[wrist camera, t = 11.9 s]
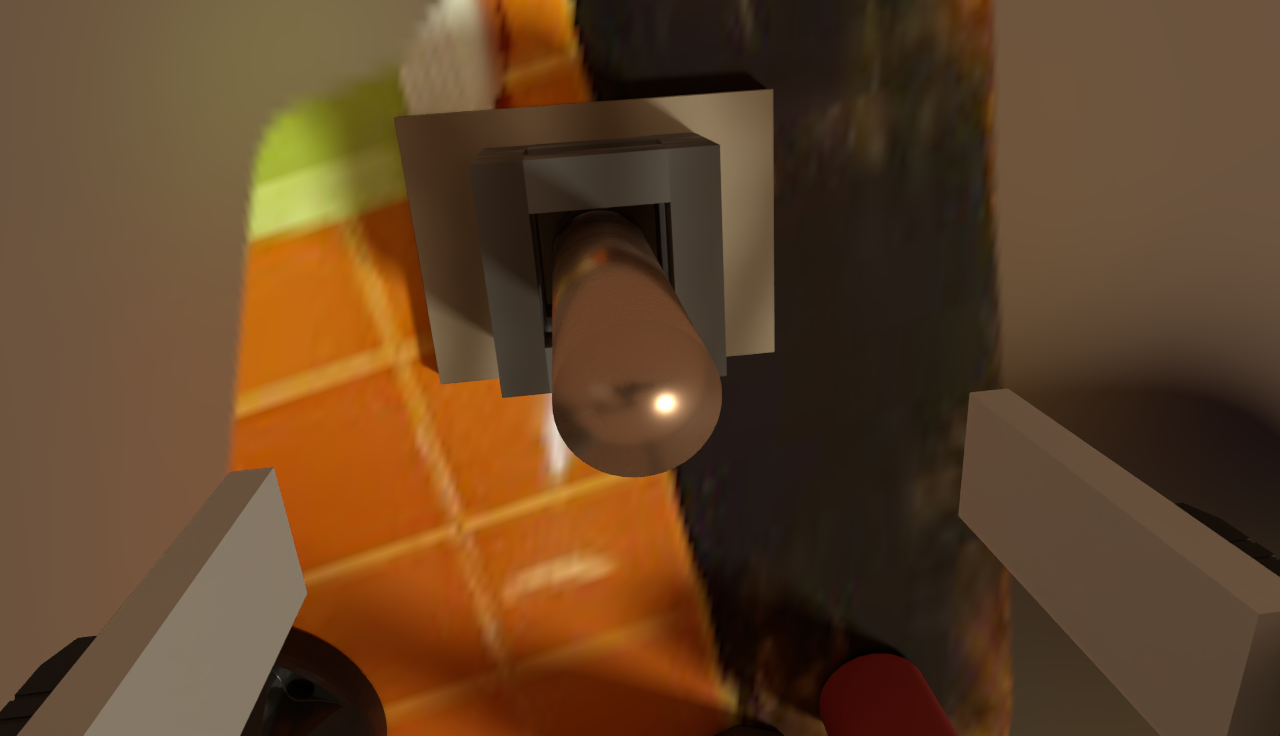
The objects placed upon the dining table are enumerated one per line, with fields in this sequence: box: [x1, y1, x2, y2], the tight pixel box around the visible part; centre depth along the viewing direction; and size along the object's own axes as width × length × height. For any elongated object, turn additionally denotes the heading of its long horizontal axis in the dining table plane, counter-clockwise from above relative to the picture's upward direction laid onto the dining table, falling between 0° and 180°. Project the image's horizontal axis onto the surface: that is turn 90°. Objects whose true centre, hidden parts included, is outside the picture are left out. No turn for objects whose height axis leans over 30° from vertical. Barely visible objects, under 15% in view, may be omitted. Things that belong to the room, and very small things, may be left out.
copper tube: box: [551, 206, 722, 477], centre depth 27 cm, size 4×4×18 cm
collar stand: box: [394, 89, 774, 398], centre depth 33 cm, size 16×12×7 cm
